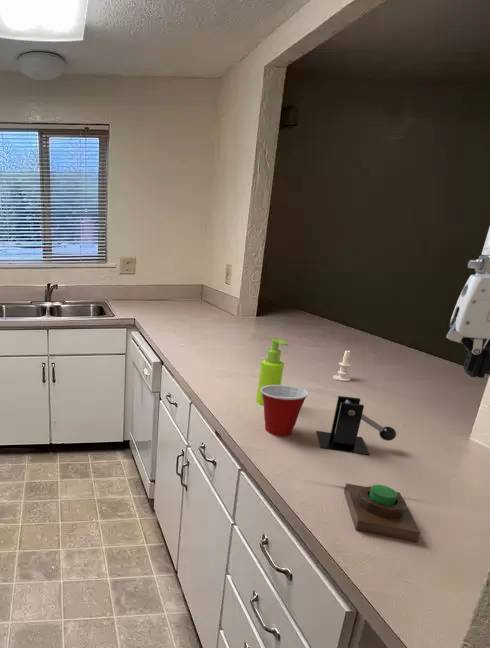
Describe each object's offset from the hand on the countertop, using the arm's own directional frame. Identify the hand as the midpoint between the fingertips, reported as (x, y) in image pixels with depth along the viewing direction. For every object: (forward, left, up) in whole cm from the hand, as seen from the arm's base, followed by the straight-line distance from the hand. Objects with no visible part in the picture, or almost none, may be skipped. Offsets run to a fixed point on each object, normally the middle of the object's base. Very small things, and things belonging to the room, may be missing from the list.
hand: (473, 374), depth 76 cm
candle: (+6, -69, -25) cm, 74 cm away
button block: (+12, +11, -25) cm, 30 cm away
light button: (+12, +11, -21) cm, 27 cm away
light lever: (+10, -16, -19) cm, 27 cm away
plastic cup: (+28, -18, -25) cm, 42 cm away
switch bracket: (+14, -16, -25) cm, 33 cm away
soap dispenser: (+30, -36, -25) cm, 53 cm away
